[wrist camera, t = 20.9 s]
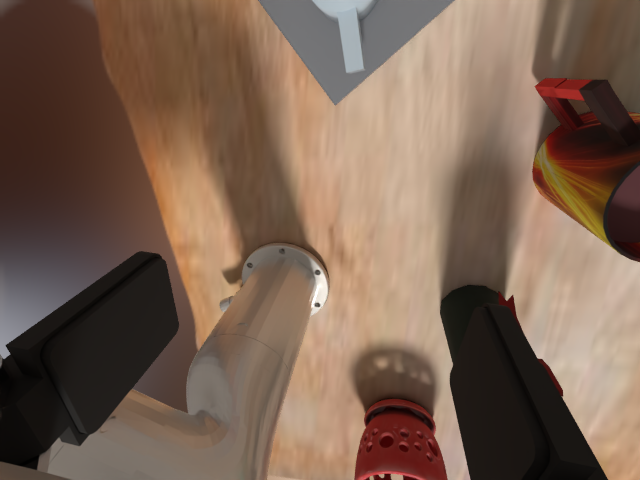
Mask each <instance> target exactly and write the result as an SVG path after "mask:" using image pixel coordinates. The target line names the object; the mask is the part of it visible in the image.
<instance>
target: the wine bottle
mask: <svg viewBox="0 0 640 480" xmlns="http://www.w3.org/2000/svg"><path fill="white" fill-rule="evenodd" d="M484 303H490V304H497V305H503V306H507V307H509V308H510V310H511V311H512V313H513V315H514V317H515V319H516V321H517V322H518V324H519V326H520V323H519V321H518V319H517V316H516V310H515V304H514V298H513V295H512V296H511V297H510V298H509V299H508V301H506V300H505V298H504V297H503V296H502V295H501V293H500V292H499V294H498V293H496V292H494V291H493V290H491V289H489V288H487V287H486V286H475V285H467V286H464V287H461V288H458V289H455V290H452V291H451V292H450V293H449V294H448V295H447V296H446V297H445V298H444V299H443V300H442V304H441V310H440V315H441V319H442V323H443V327H444V330H445V334H446V338H447V342H448V346H449V350H450V354H451V358H452V362H453V365H454V362H455V359H456V357H457V354H458V351H459V349H460V346H461V343H462V340H463V338H464V335H465V332H466V330H467V327H468V324H469V321H470V319H471V316H472V313H473V311H474V309H475V308H476V307H481V306H482V305H483V304H484ZM520 328H521V326H520ZM521 330H522V328H521ZM538 361H539V362H540V363H541V364H543V366H544V367H545V368H546V370H547V372H548V373H549V375H550V377H551V379H552V380H553V382H554V384H555V386H556V388H557V389H558V391H559V393H560V395H561V396H563V390H562V388H561V386H560V385H559V383H558V381H557V379H556V378H555V376H554V374H553V372H552V371H551V369H550V367H549V366H548V365H547V364H546V363H545V362H544V361H543V360H542V359H538Z"/></svg>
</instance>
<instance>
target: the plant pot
mask: <svg viewBox="0 0 640 480" xmlns="http://www.w3.org/2000/svg"><path fill="white" fill-rule="evenodd" d="M364 423H365V426H366V429H365V431H364V433H363V435H362V438H361V441H360V445H359V450H358V454H357V461H356V468H355V478H354V480H370V479H369V477H370V476H372V475H373V477H374V480H391V474H400V475H403V480H447V474H446V469H445V464H444V461H443V457H442V454H441V451H440V448H439V445H438V443H437V441H436V439H435V437H434V434H435V431H436V426H435V422H434V420H433V418H432V417H431V415H430V414H429V413H428V412H427V411H426V410H425V409H424V408H422V407H421V406H419V405H417V404H415V403H413V402H410V401H408V400H402V399H387V400H382V401H379V402H377V403H375V404H374V405H372V406H371V407H370V408H369V409H368V411H367V412H366V414H365V418H364ZM378 474H384V478H381V477H379V475H378Z"/></svg>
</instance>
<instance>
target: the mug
mask: <svg viewBox="0 0 640 480" xmlns="http://www.w3.org/2000/svg"><path fill="white" fill-rule="evenodd" d="M535 88H536V90H537V91H538V93H539V94H540V96H541V97H542V98H543V100H544V101H545V103H546V104H547V105H548V107H549V108H550V109H551V111H552V112H553V113H554V115H555V116H556V118H557V119H558V120H559V122H560V123H561V124H562V125H560V126H559V127H558V128H557V129H556V130H554V131H553V132H552V133H551V134H550V135H549V136H548V137H547V139H546V140H545V141H544V142H543V143H542V145H541V147H540V149H539V150H538V152H537V154H536V157H535V160H534V164H533V171H532V172H533V181H534V183H535V186H536V188H537V190H538V191H539V193H540V194H541V195H542V196H543V197H545V198H546V199H547V200H548V201H550V202H551V203H552V204H554V205H555V206H556V207H558V208H559V209H560V210H562V211H563V212H564V213H566V214H567V215H568V216H570V217H571V218H573V219H574V220H575V221H577V222H578V223H579V224H581V225H582V226H583V227H585V228H586V229H587V230H589V231H590V232H591V233H593V234H594V235H595V236H597V237H598V238H599V239H601V240H602V241H604V242H605V243H606V244H608V245H609V246H610V247H612V248H613V249H614V250H616V251H617V252H618V253H620V254H621V255H623V256H625V257H627V258H629V259H631V260H634V261H637V262H640V113H633V112H627V111H626V109H625V108H624V106H623V105H622V103H621V102H620V100H619V99H618V97H617V96H616V94H615V93H614V91H613V89H612V87H611V86H610V84H609V82H608V80H570V79H567V78H545V79H544V80H543V81H541V82H540V83H538V84H537V85H536V86H535ZM567 99H575V100H584V101H585V102H586V103H587V105H588V106H589V108H590V109H591V110H592V111H590V112H587V113H584V114H580V115H578V114H577V112H576V111H575V110H574V108H573V107H572V105H571V104H570V103H569V101H568V100H567Z"/></svg>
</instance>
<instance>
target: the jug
mask: <svg viewBox="0 0 640 480" xmlns="http://www.w3.org/2000/svg"><path fill="white" fill-rule="evenodd" d="M312 1H313V2H314V3H315V4H316V6H317V7H318V8H319V9H320V10H321V11H322V12H323V14H324V15H325V16H326V17H327V18H328V19H330V20H331V21H333V22H335V23H337V24H339V28H340V34H341V41H342V48H343V54H344V61H345V68H346V73H350V74H351V73H355V72H359V71H363V70H366V67H365V59H364V51H363V43H362V35H361V27H360V21H361V20H363V19H364V18H366V17H367V16H368V15H369V14H370V13H371V11H372V10H373V9H374V7H375V6H376V4H377V2H378V0H312Z"/></svg>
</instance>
